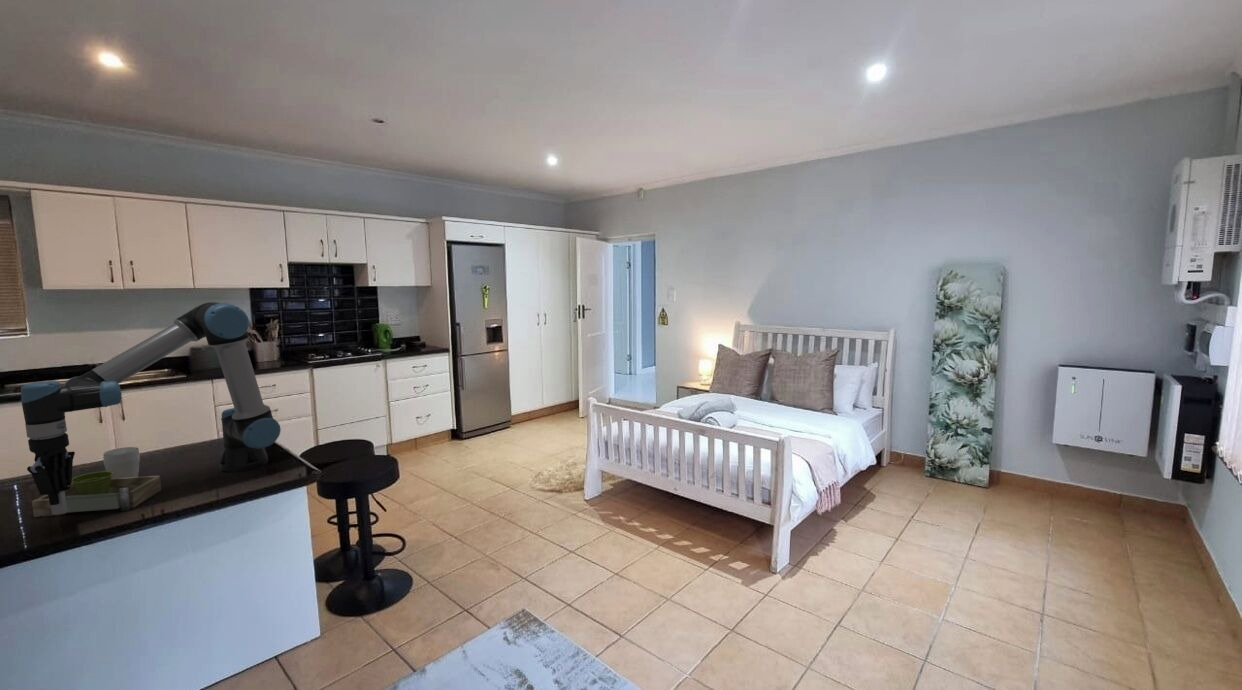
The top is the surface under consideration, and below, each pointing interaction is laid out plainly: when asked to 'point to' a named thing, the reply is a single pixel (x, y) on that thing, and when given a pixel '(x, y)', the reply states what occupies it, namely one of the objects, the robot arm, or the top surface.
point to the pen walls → (137, 489)
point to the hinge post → (124, 498)
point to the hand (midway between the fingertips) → (60, 513)
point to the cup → (122, 462)
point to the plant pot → (92, 483)
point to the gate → (93, 502)
